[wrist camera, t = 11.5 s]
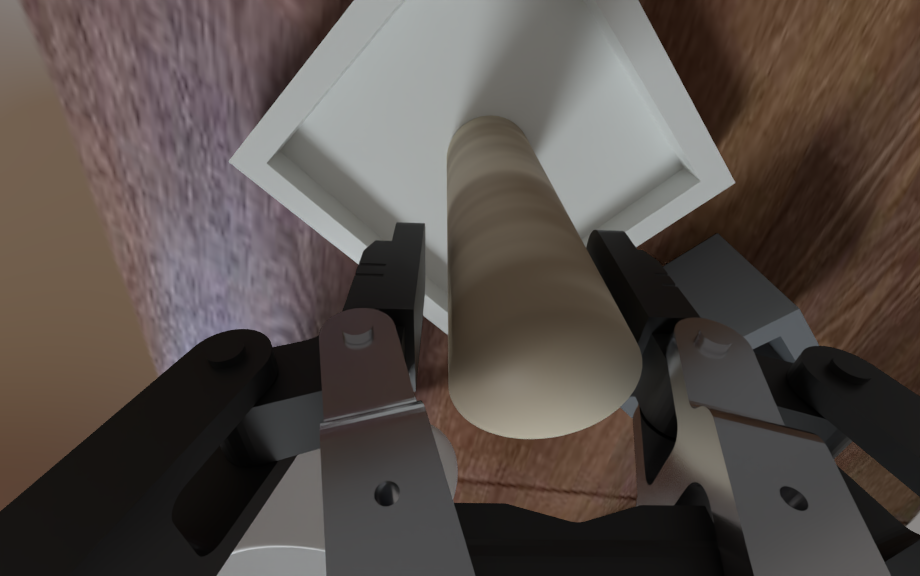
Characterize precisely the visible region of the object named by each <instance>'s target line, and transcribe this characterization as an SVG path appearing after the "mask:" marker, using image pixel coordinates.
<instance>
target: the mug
mask: <svg viewBox="0 0 920 576" xmlns="http://www.w3.org/2000/svg"><path fill="white" fill-rule="evenodd" d="M430 425H431V424H430ZM431 428H432V432H433V435H434V438H435V442H436V445H437V449H438V452H439V455H440V459H441V462H442V465H443V469H444V472H445V475H446V479H447V482H448V485H449V489H450V492H451V495H452V499H453V498H454V495H455V491H456V486H457V476H458V467H457V459H456V455H455V451H454V449H453V447H452V445H451V443H450V441H449V440H448V438H447V437H446V436H445V434H444V433H443V432H441V431H440V430H439V429H438V428H436V427H435V426H433V425H431ZM217 576H326V558H325V537H324V516H323V495H322V475H321V454H320V449H317V450H313V451H310V452H306V453H303V454H299V455H297V457H296V458H295V460H294V461H293V463H292V464H291V466H290V467H289V469H288V470H287V472H286V473H285V475H284V476H283V478H282V479H281V481H280V482H279V484H278V485H277V487H276V488H275V490H274V491H273V493H272V494H271V496H270V497H269V499H268V500H267V502H266V503H265V505H264V506H263V508H262V509H261V511H260V512H259V514H258V515H257V516H256V518H255V519H254V521H253V522H252V524H251V525H250V527H249V528H248V530H247V531H246V533H245V534H244V536H243V537H242V539H241V540H240V542H239V543H238V545H237V546H236V548H235V549H234V551H233V552H232V554H231V555H230V557H229V558H228V560H227V561H226V563H225V564H224V566H223V567H222V568H221V570H220V571H219V573H218V574H217Z"/></svg>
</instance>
